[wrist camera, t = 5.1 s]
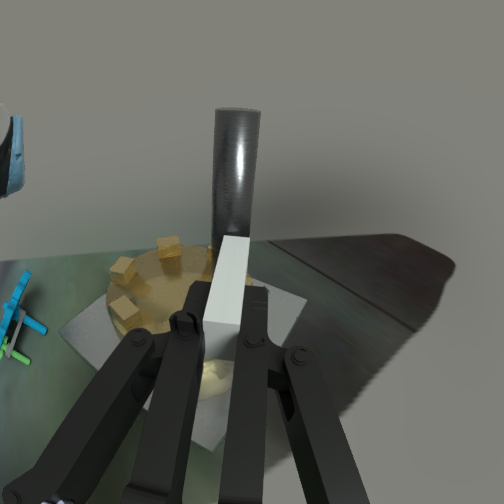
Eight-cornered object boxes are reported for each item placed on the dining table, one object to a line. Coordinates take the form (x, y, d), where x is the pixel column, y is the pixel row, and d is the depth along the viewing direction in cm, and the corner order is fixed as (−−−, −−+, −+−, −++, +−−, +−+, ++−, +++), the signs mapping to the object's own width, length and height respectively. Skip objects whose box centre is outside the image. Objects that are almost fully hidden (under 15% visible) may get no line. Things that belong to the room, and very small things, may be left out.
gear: (14, 289, 27) (29, 250, 23) (48, 312, 30) (70, 279, 26) (-15, 361, 19) (-13, 338, 15) (25, 384, 22) (40, 370, 18)
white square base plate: (62, 338, 25) (52, 320, 23) (172, 251, 40) (170, 235, 38) (212, 454, 18) (211, 446, 16) (305, 307, 33) (310, 289, 31)
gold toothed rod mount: (89, 303, 25) (47, 119, 15) (186, 249, 35) (184, 95, 24) (177, 398, 19) (131, 129, 8) (281, 305, 28) (316, 111, 18)
